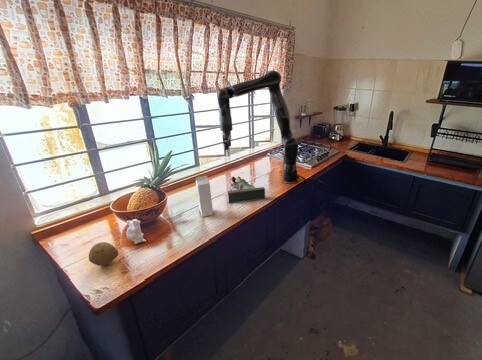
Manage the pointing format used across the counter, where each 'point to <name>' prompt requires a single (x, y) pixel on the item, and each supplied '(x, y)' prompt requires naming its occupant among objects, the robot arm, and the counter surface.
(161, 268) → the counter surface
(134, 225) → the koala figurine
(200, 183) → the milk
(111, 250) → the brown rounded lump
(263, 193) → the shoe rail
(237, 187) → the sneaker
